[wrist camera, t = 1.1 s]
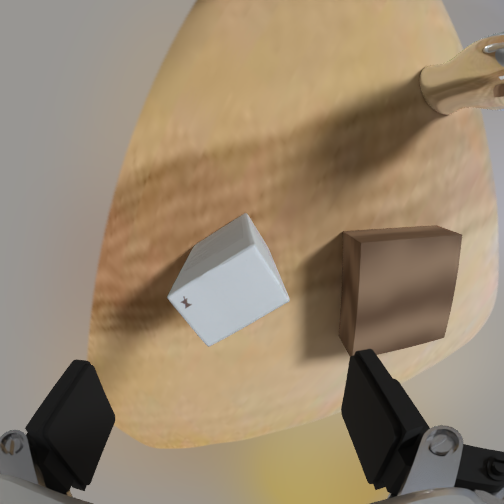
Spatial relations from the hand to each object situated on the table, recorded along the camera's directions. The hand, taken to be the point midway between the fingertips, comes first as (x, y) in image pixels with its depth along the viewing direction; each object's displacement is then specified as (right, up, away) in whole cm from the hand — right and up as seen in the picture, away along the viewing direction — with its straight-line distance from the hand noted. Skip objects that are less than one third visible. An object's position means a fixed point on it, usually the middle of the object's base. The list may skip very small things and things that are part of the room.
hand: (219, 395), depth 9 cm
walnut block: (+16, +2, +21) cm, 26 cm away
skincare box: (-1, +6, +19) cm, 20 cm away
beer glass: (+22, +23, +15) cm, 35 cm away
